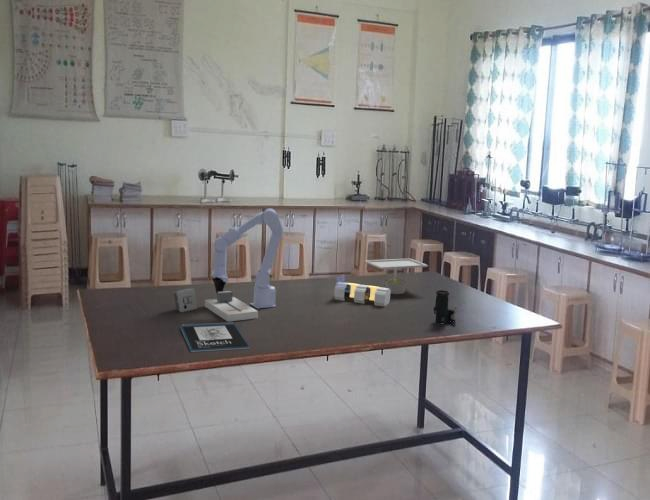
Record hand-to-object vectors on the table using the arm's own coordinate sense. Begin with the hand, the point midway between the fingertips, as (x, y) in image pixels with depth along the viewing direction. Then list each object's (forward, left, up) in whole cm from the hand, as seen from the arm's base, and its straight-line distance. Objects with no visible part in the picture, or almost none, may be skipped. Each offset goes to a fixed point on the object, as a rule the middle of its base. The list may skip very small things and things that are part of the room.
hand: (219, 294), depth 304 cm
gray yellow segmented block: (-66, +18, -6) cm, 69 cm away
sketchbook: (+20, +43, -6) cm, 47 cm away
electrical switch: (+17, +3, -5) cm, 18 cm away
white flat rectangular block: (0, +13, -5) cm, 14 cm away
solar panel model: (-93, +8, -5) cm, 93 cm away
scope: (-79, +61, -5) cm, 100 cm away
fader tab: (0, +6, -2) cm, 6 cm away
